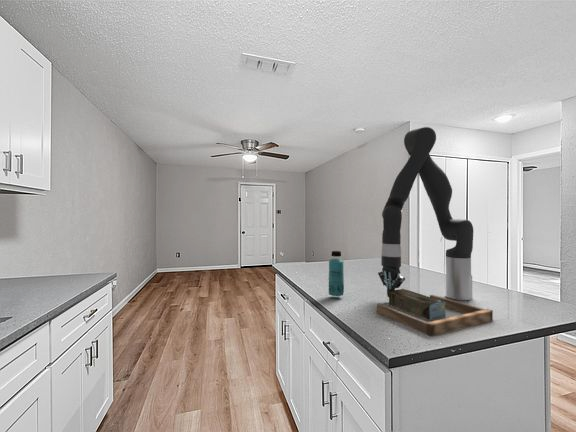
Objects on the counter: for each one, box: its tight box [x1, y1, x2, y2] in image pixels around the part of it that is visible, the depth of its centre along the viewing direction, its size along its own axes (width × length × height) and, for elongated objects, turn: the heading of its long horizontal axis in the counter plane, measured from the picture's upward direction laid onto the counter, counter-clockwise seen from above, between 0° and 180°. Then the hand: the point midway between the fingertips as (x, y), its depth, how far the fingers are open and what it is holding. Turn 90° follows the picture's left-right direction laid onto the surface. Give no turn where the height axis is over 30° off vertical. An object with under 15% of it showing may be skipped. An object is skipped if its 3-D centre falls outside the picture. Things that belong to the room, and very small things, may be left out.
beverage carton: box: [388, 288, 447, 322], centre depth 103 cm, size 8×19×7 cm, turn 23°
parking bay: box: [376, 294, 494, 337], centre depth 97 cm, size 29×22×3 cm
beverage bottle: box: [327, 250, 345, 297], centre depth 120 cm, size 6×7×20 cm
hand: (390, 297), depth 114 cm, fingers closed
